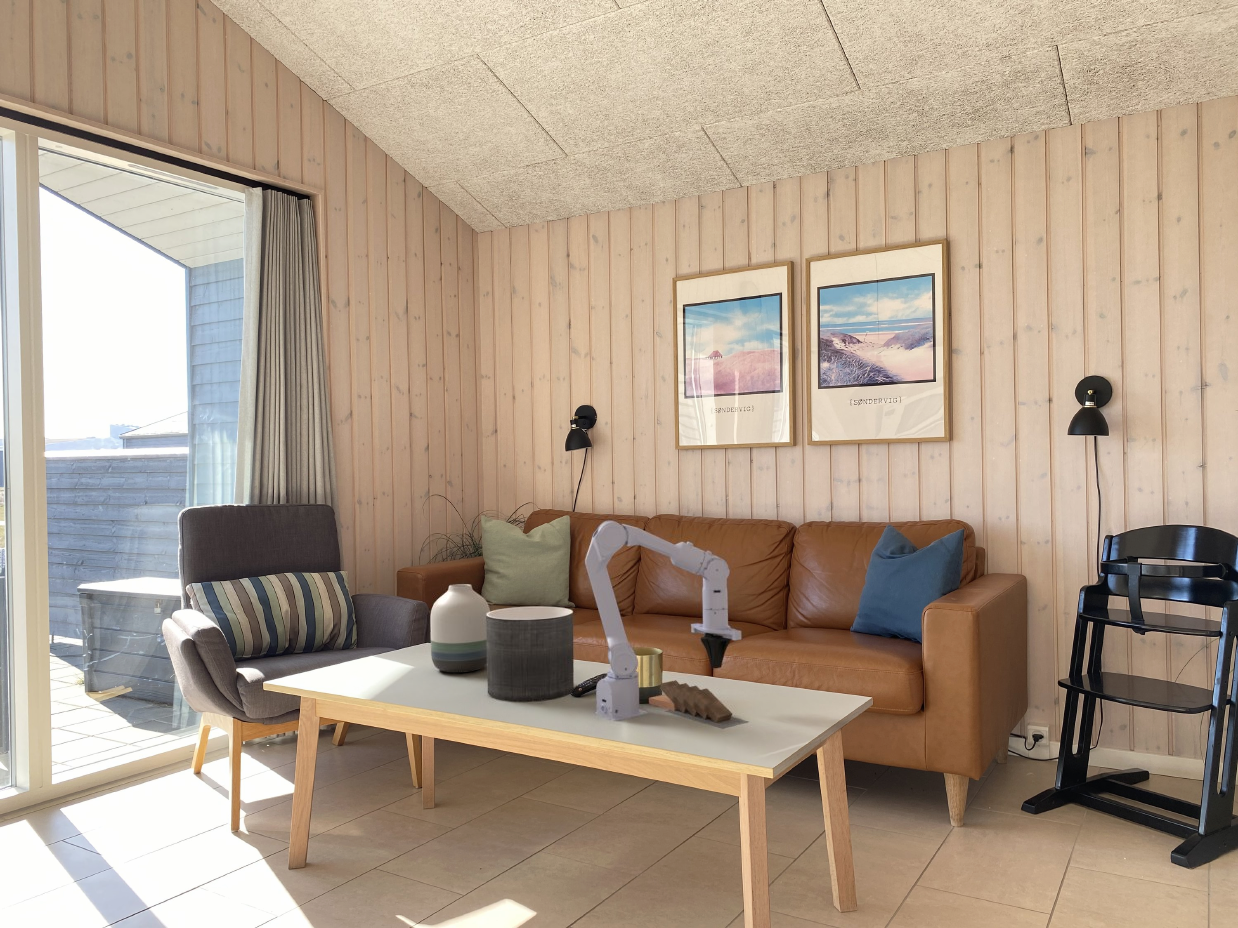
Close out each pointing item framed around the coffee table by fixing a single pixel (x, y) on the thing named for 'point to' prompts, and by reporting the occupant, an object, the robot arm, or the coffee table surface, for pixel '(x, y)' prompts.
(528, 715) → the coffee table surface
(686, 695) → the walnut tile
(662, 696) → the terracotta tile
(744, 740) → the coffee table surface
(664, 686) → the walnut tile
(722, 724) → the grey flat rectangular plate
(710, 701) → the walnut tile
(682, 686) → the walnut tile
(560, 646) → the planter
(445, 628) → the vase
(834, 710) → the coffee table surface
